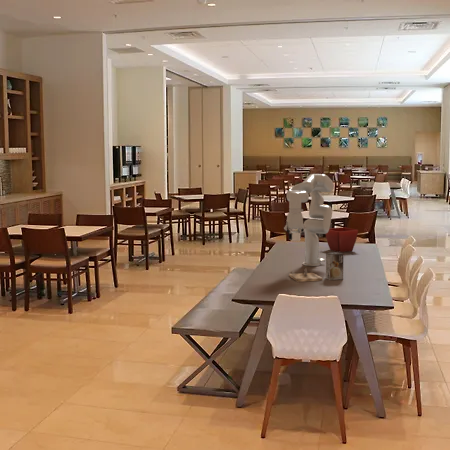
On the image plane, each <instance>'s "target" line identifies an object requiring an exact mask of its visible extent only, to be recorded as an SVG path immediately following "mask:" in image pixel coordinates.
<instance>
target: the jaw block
mask: <svg viewBox="0 0 450 450" xmlns="http://www.w3.org/2000/svg"><path fill="white" fill-rule="evenodd" d="M291 234H292V240H290V239H289V238H288V240H290V241H292V242H300V241H301V238H300V233H299V232H298V231H292V232H291Z"/></svg>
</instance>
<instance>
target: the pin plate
mask: <svg viewBox="0 0 450 450" xmlns="http://www.w3.org/2000/svg"><path fill="white" fill-rule="evenodd" d="M303 271H304V272H302V273H301V272H299V273H289V274H288V275H289V276H288V277H290V278H292V279H293V280H294V281H296V282H297V283H298V282H299V283H300V282H318V281H320V280H323V277H322V276H320V275H318V274H316V273H314V272H308V268H304V270H303ZM320 282H321V281H320Z"/></svg>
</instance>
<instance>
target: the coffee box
mask: <svg viewBox="0 0 450 450" xmlns="http://www.w3.org/2000/svg"><path fill="white" fill-rule="evenodd" d="M325 279H327V280H329V281H336V280H344V253H343V252H336V251H335V252H326V253H325Z"/></svg>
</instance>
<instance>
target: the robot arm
mask: <svg viewBox="0 0 450 450" xmlns="http://www.w3.org/2000/svg"><path fill="white" fill-rule="evenodd" d="M333 190H334V181H332V179H331V178H330V177H329V176H328V175H326V174H325V173H322V174H321V173H310V174H309V175H308V176H307V177H306V178H305V179H304V180H303V182H300V183H297V184H295V185H293V186H291V187H290V188H289V190H287V192H286V200H287V201H288V203H289V205H288V213H287V216H286V223H285V225H284V227H283V229H284V231H286V232H287V233H288V240H289V239H290V241H292V234H291V232H293V230H297V232H299V233H300V239H301V238H302V233H304V261H303V262H302V263H301V264H302V265H303V266H305V267H307V266H308V267H318V266H321V265H322V264H321V263H323V262H325V263H326V258H320V257H319V253H320V251H319V249H320V248H319V247H320V241H319V240H320V239H319V237H318V235H317V234H319V235H320V234H322V235H326V233H328V231H329V228H331V222H332V217H333V209H332V207H331V206H330V205H324V203H325V202H324V201H325V199H324V196H323V195H322V194H321V193H330V192H332V191H333ZM309 194H310V195H309ZM310 197H311V201H310V204H309V205H310V206H309V209H308V216H309V218H308V219H305V220H304V217H303V213H302V212H304V209H303V208H302V203H307V202H308V201H309V198H310Z"/></svg>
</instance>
